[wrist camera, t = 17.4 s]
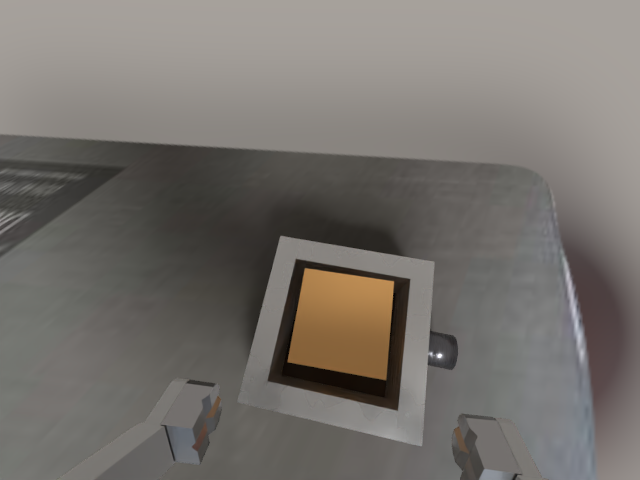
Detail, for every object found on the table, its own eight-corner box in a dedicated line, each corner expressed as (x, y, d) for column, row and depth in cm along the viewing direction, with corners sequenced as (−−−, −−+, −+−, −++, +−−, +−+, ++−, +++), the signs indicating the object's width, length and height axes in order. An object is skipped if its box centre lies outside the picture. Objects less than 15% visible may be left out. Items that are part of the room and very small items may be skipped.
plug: (307, 357, 20) (287, 362, 12) (316, 299, 22) (305, 268, 13) (365, 367, 20) (386, 380, 12) (371, 308, 21) (394, 281, 13)
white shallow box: (258, 391, 20) (237, 402, 16) (290, 256, 23) (280, 235, 19) (434, 432, 19) (463, 456, 14) (443, 283, 22) (468, 267, 18)
